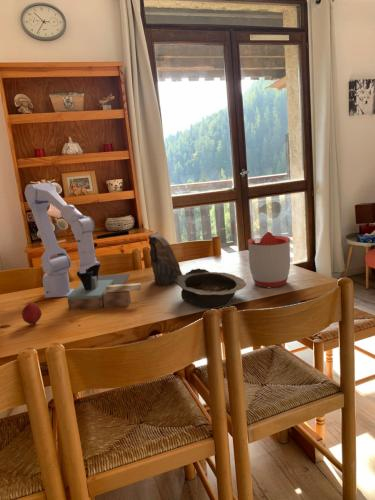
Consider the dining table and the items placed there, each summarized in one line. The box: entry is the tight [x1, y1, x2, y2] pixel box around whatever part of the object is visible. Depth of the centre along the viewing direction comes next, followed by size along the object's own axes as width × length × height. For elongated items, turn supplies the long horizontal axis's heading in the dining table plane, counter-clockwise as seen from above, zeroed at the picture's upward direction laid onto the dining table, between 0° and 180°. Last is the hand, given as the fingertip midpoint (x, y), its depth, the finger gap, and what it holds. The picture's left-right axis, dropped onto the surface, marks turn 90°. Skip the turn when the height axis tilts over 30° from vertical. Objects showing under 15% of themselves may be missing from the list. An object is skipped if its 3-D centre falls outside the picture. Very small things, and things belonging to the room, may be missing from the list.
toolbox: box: [67, 282, 132, 311], centre depth 145 cm, size 21×18×5 cm
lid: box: [66, 276, 114, 301], centre depth 145 cm, size 12×18×5 cm, turn 177°
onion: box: [21, 300, 43, 325], centre depth 127 cm, size 6×6×8 cm
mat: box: [98, 273, 131, 285], centre depth 168 cm, size 15×20×1 cm
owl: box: [147, 231, 184, 288], centre depth 160 cm, size 13×13×20 cm
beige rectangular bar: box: [106, 282, 142, 292], centre depth 138 cm, size 12×2×2 cm, turn 87°
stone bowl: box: [174, 268, 247, 309], centre depth 136 cm, size 25×25×9 cm
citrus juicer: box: [247, 231, 291, 288], centre depth 148 cm, size 16×17×20 cm
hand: (91, 286), depth 145 cm, fingers open, 7 cm apart
